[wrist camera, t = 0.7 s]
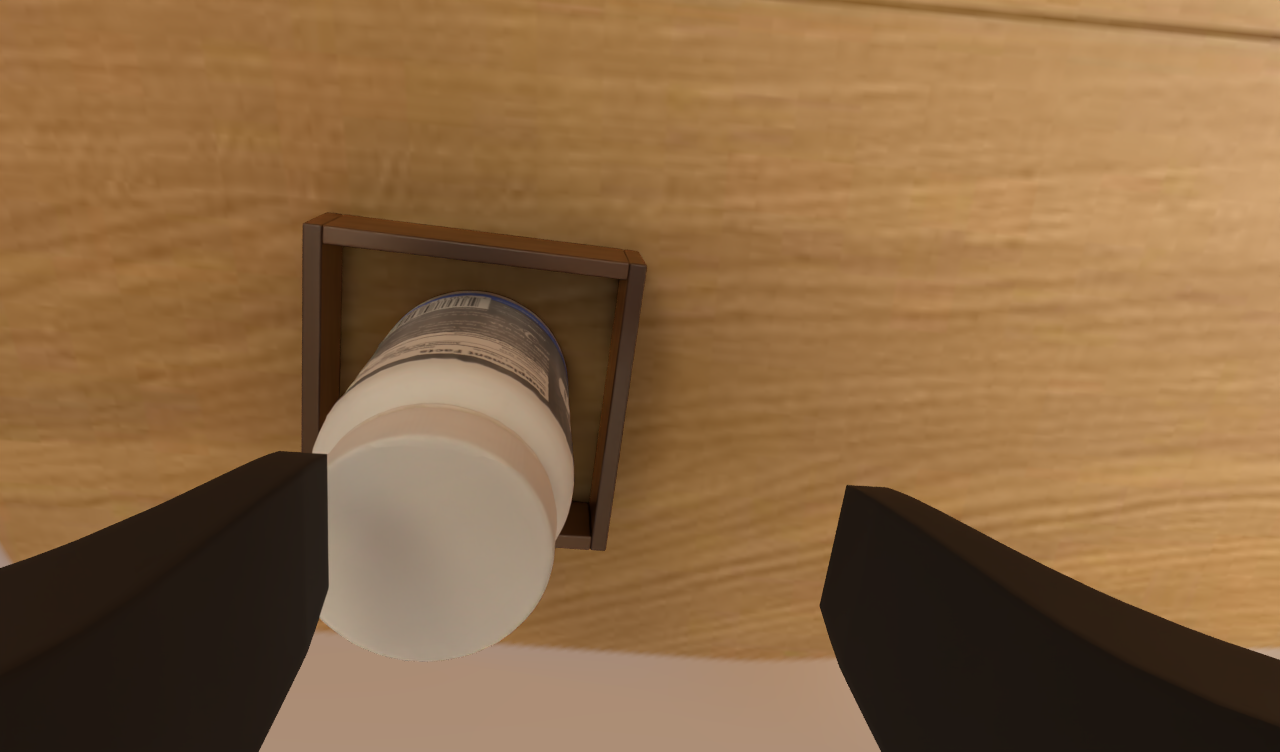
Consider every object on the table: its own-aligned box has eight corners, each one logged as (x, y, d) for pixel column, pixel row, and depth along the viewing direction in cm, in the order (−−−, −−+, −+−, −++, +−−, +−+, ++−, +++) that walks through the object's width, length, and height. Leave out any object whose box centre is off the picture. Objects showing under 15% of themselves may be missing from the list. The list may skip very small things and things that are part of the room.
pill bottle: (530, 484, 21) (515, 716, 13) (355, 428, 20) (223, 642, 12) (596, 326, 19) (626, 475, 12) (413, 256, 18) (309, 368, 11)
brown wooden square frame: (639, 250, 19) (647, 265, 17) (601, 516, 21) (605, 551, 20) (325, 211, 18) (301, 222, 16) (322, 495, 20) (300, 531, 19)
